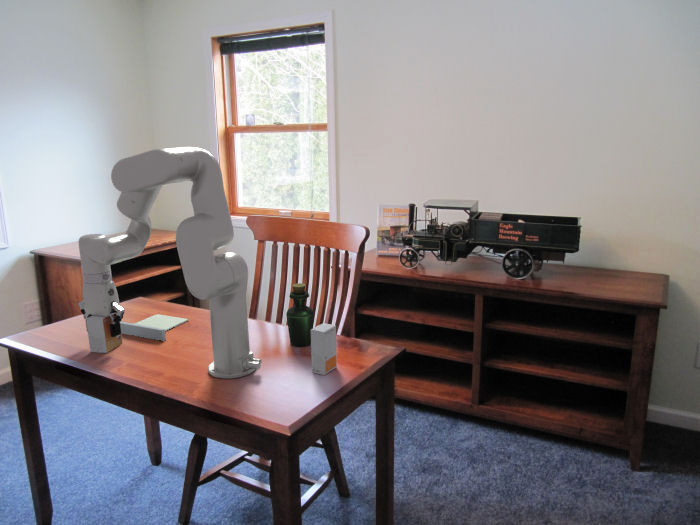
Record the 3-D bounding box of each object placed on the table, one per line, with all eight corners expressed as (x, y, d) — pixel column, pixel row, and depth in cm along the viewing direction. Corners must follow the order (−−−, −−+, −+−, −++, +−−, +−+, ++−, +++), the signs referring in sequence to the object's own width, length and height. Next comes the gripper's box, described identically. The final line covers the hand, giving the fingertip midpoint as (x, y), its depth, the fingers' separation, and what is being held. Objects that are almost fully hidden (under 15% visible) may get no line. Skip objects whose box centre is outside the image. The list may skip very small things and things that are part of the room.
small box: (106, 353, 160) (102, 319, 157) (89, 352, 161) (85, 318, 158) (123, 343, 167) (119, 310, 165) (106, 342, 168) (102, 309, 166)
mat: (188, 320, 186) (188, 319, 186) (158, 334, 173) (158, 333, 173) (157, 315, 191) (156, 314, 191) (125, 329, 179) (125, 327, 179)
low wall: (165, 339, 169) (164, 329, 168) (163, 341, 168) (161, 330, 167) (108, 329, 179) (107, 319, 178) (105, 330, 178) (104, 320, 177)
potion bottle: (312, 348, 160) (310, 289, 156) (284, 348, 161) (281, 288, 157) (317, 338, 168) (315, 281, 164) (291, 337, 169) (288, 281, 165)
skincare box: (324, 375, 143) (323, 332, 140) (311, 372, 145) (309, 329, 142) (337, 367, 148) (336, 325, 145) (324, 364, 150) (323, 322, 147)
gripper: (129, 277, 159) (135, 333, 163) (86, 271, 166) (93, 324, 170) (109, 284, 152) (115, 342, 156) (65, 277, 159) (72, 333, 163)
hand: (104, 333), depth 163 cm, fingers open, 9 cm apart
